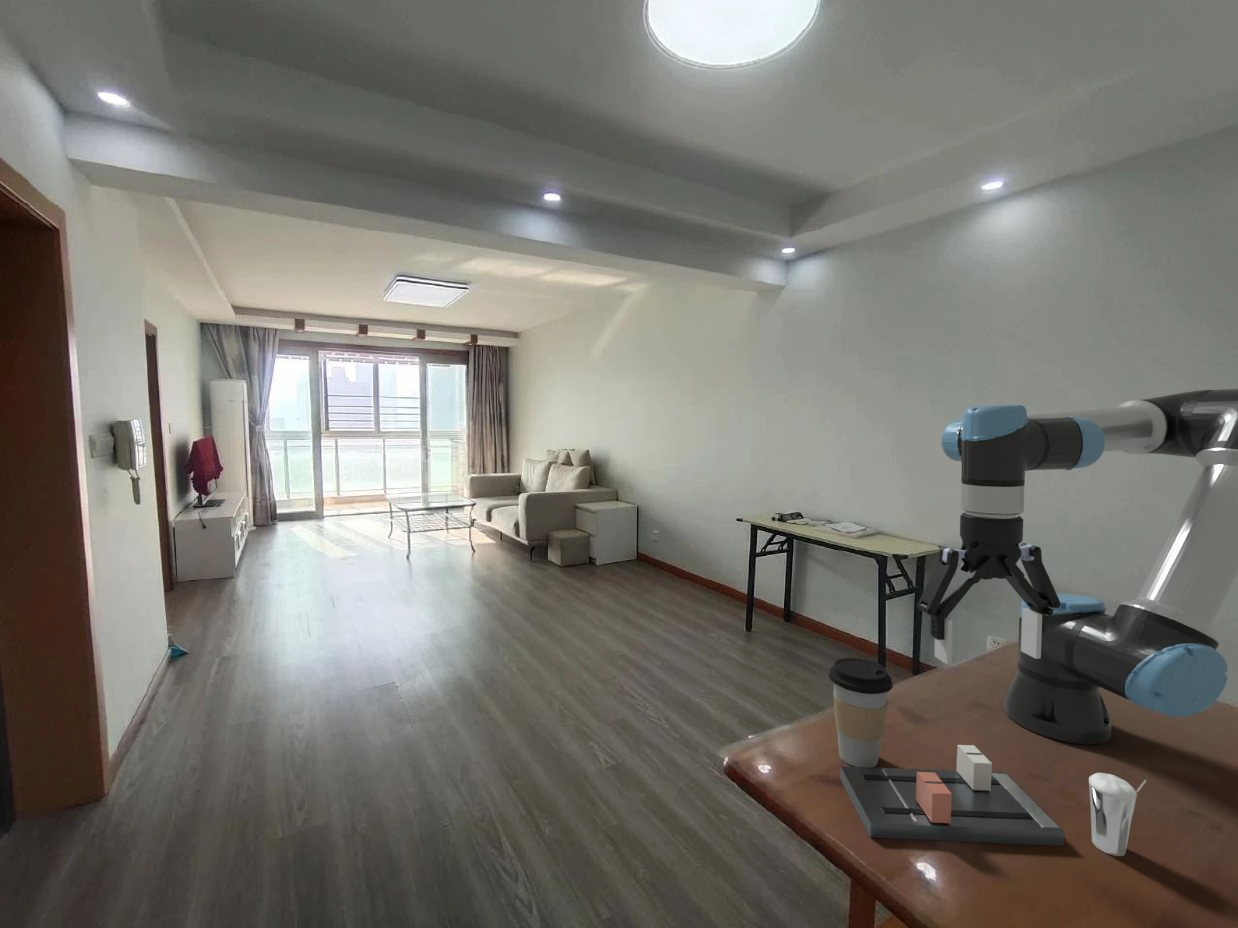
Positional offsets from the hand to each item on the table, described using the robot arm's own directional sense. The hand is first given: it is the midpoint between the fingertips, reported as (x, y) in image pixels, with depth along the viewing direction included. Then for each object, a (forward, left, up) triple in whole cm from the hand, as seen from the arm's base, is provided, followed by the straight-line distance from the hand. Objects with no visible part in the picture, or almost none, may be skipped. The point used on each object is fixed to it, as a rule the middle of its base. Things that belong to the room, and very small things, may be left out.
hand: (987, 657), depth 81 cm
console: (+8, +5, -20) cm, 22 cm away
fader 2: (+2, +2, -18) cm, 18 cm away
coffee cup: (+16, -6, -20) cm, 26 cm away
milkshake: (-10, +11, -20) cm, 25 cm away
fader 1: (+11, +9, -18) cm, 23 cm away
